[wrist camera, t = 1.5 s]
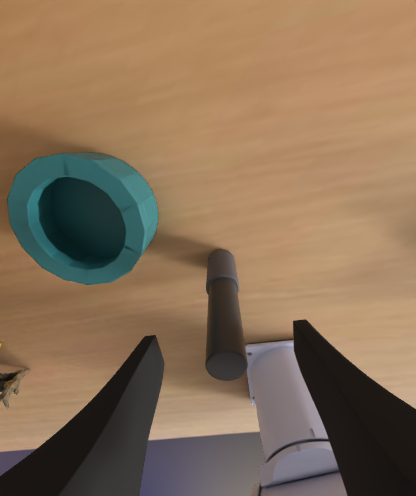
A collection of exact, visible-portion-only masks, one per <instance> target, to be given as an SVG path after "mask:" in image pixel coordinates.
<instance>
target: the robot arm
mask: <svg viewBox="0 0 416 496" xmlns="http://www.w3.org/2000/svg"><path fill="white" fill-rule="evenodd" d="M293 336H294V340H289V341H279V342H268V343H258V344H248V345H245V347H246V354H247V361H248V368H247V376H248V383H249V391H250V399H251V404H252V405H254V406H256V409H257V415H258V421H259V428H260V434H261V440H262V447H263V453H264V459H265V464H262V465H259V466H258V468H259V475H260V483H258V484H256V485H254V487H253V489H252V492H251V496H416V409H415V408H413V407H412V406H410V405H409V404H407V403H406V402H404V401H402V400H401V399H399V398H398V397H396V396H395V395H393V394H392V393H390V392H389V391H388V390H386V389H385V388H383V387H382V386H380V385H379V384H378V383H376V382H375V381H374V380H372V379H371V378H370V377H368V376H367V375H366V374H365V373H363V372H362V371H361V370H360V369H358V368H357V367H356V366H355V365H354V364H352V363H351V362H350V361H349V360H348V359H346V358H345V357H344V356H343V355H342V354H341V353H340V352H339V351H338V350H336V349H335V348H334V347H333V346H332V345H331V344H330V343H329V342H328V341H327V340H326V339H325V338H324V337H323V336H322V335H321V334H320V333H319V332H318V331H317V330H316V329H315V328H314V327H313V326H312V325H311V324H310V323H309V322H308V321H307V320H297V321H293ZM248 352H250V353H248ZM164 363H165V362H164V359H163V356H162V353H161V350H160V347H159V344H158V341H157V338H156V335H152V336H145V337H144V338H143V339H142V340H141V342H140V343H139V344H138V345H137V347H136V348H135V349H134V351H133V352H132V353H131V355H130V356H129V357H128V359H127V360H126V361H125V362H124V364H123V365H122V366H121V367H120V369H119V370H118V371H117V372H116V373H115V375H114V376H113V377H112V378H111V379H110V380H109V382H108V383H107V384H106V385H105V386H104V387H103V389H102V390H101V391H100V392H99V393H98V394H97V395H96V396H95V397H94V398H93V399H92V400H91V401H90V402H89V403H88V404H87V405H86V406H85V407H84V408H83V409H82V410H81V411H80V412H79V413H78V414H77V415H76V416H75V417H74V418H72V419H71V420H70V421H69V422H68V423H67V424H66V425H65V426H64V427H63V428H61V429H60V430H59V431H58V432H57V433H56V434H54V435H53V436H52V437H51V438H50V439H49V440H47V441H46V442H45V443H44V444H42V445H41V446H40V447H39V448H37V449H36V450H35V451H34V452H33V453H31V454H30V455H28V456H27V457H26V458H25V459H23V460H22V461H20V462H19V463H18V464H16V465H15V466H14V467H12V468H11V469H10V470H8V471H7V472H5V473H4V474H3V475H1V476H0V496H139V494H140V487H141V480H142V474H143V467H144V461H145V455H146V448H147V442H148V438H149V433H150V429H151V425H152V421H153V417H154V413H155V409H156V405H157V401H158V397H159V393H160V389H161V385H162V379H163V372H164Z"/></svg>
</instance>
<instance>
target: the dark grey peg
mask: <svg viewBox="0 0 416 496" xmlns="http://www.w3.org/2000/svg"><path fill="white" fill-rule="evenodd" d="M206 291H207V294H208V295H209V296H208V318H207V340H206V362H205V366H206V369H207V371H208V373H209V374H210V375H211V376H212V377H214V378H216V379H219V380H223V381H230V380H235V379H238V378H240V377H241V376H243V375H244V374H245V372H246V371H247V368H248V361H247V354H246V347H245V341H244V334H243V328H242V321H241V314H240V308H239V301H238V295H237V294H238V292H239V283H238V277H237V271H236V266H235V260H234V257H233V255H232V254H231V253H230V252H229V251H227V250H223V249H219V250H216V251H214V252H212V253H211V254H210V256H209V258H208V267H207V282H206Z"/></svg>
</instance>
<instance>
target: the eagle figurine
mask: <svg viewBox="0 0 416 496" xmlns="http://www.w3.org/2000/svg"><path fill="white" fill-rule="evenodd" d="M1 345H2V343H0V347H1ZM29 371H30V369H24V370H19V371H16V372H14V373H9V374H6V373H5V374H1V373H0V392H2V394H1V395H0V401H3V403H4V405H5V407H6V408H7V409H8V408H9V405H8V399H9V397H10V396H11V394H12V392H13V391H14V393H15V394H18V393H19V390H18V388H19V384H20V381H21V380H22V378H23V377H24V376H25V375H26V374H27V373H28V372H29Z"/></svg>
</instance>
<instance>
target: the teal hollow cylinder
mask: <svg viewBox="0 0 416 496" xmlns="http://www.w3.org/2000/svg"><path fill="white" fill-rule="evenodd" d="M7 203H8V212H9V221H10V225H11V227H12V229H13V231H14V233H15V235H16V237H17V239H18V240H19V242H20V244H21V246H22V248H23V249H24V250H25V251H26V252H27V253H28V254H29V255H30V256H31V257H32V258H33V259H34V260H35V261H36V262H37V263H38V264H39V265H40V266H41V267H42V268H44V269H45V270H47V271H49V272H51V273H53V274H54V275H56V276H58V277H60V278H62V279H64V280H67V281H72V282H77V283H81V284H86V285H93V284H101V283H109V282H113V281H115V280H116V279H118V278H120V277H121V276H123V275H125V274H127V273H128V272H130V271H131V270H132V268H133V267H134V265H135V264H136V262H137V261H138V260H139V258H140V257H141V255H142V254H143V252H144V251H145V249H146V248H147V246H148V245H149V243H150V242H151V240H152V239H153V237H154V236H155V232H156V229H157V224H158V209H157V203H156V200H155V197H154V195H153V192H152V190H151V188H150V187H149V185H148V183H147V182H146V181H145V179H144V178H143V177H142V176H141V175H140V174H139V173H138V172H137V171H136V170H135V169H134V168H133V167H131V166H130V165H128V164H127V163H125V162H124V161H122V160H120V159H118V158H115V157H112V156H109V155H105V154H97V153H93V152H86V153H62V154H56V155H51V156H45V157H40V158H36V159H34V160H33V161H32V162H30V163H29V164H28V165H27V166H26V167H24V168H23V169H22V170H21V171H19V172H18V173H17V174H16V176H15V179H14V181H13V184H12V187H11V190H10V192H9V195H8V198H7Z"/></svg>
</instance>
